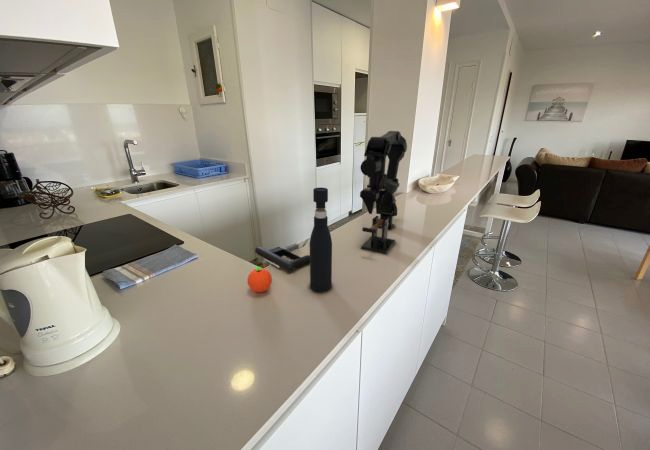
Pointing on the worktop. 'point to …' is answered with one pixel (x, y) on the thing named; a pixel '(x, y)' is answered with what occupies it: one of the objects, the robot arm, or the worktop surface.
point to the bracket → (379, 239)
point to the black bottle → (320, 245)
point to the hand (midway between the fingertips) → (374, 210)
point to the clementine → (259, 280)
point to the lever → (374, 227)
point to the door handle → (276, 258)
